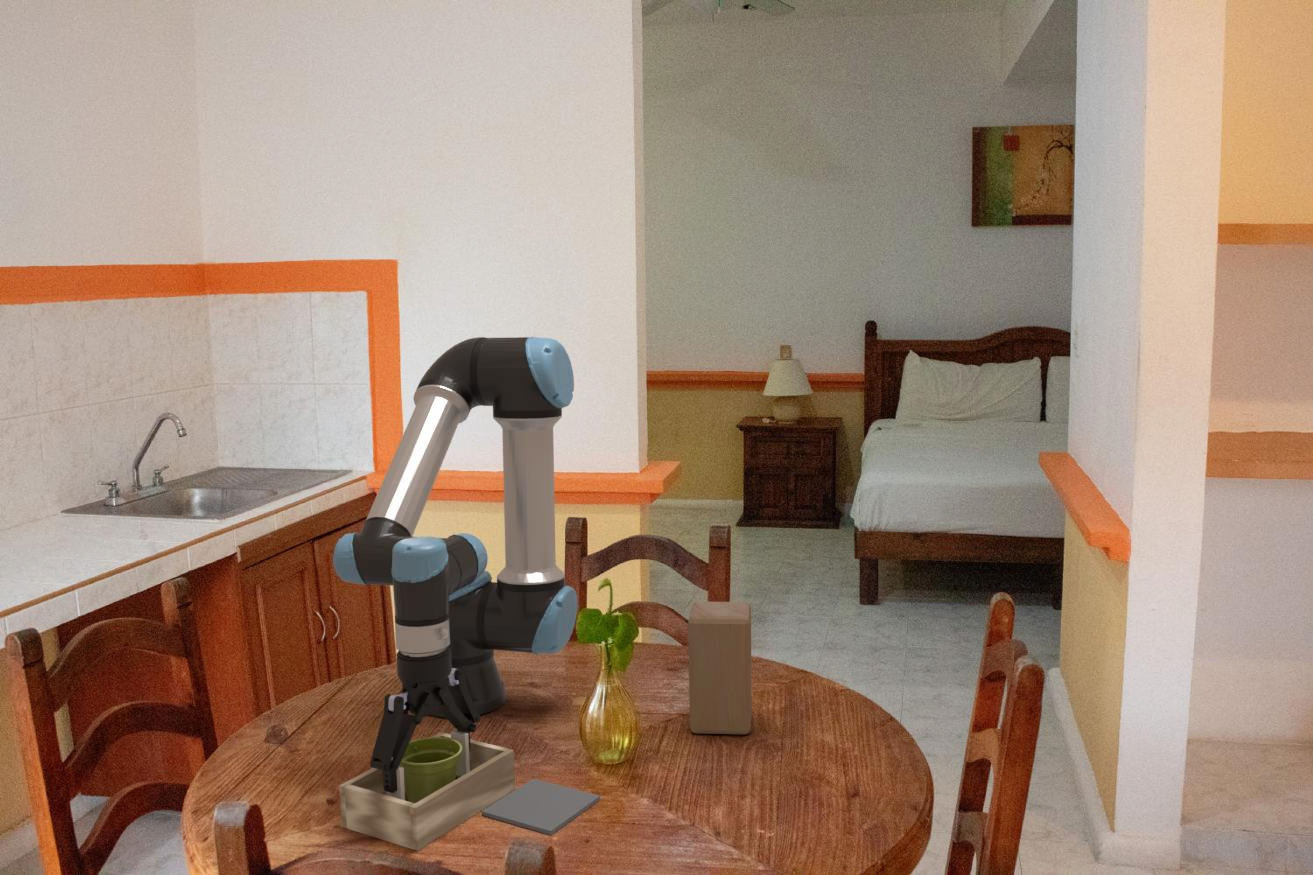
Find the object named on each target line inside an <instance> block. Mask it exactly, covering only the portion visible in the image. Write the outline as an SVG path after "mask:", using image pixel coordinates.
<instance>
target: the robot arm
mask: <svg viewBox="0 0 1313 875" xmlns="http://www.w3.org/2000/svg"><path fill="white" fill-rule="evenodd" d="M574 378H575V377H574V371H573V366H572V362H571V358H570V357H569V354H568V352H567V351H566V348H565V347H564V346H563V345H562V344H561V342H560V341H558V340H557V339H554V338H547V337H538V336H530V337H529V336H525V337H522V336H521V337H519V336H518V337H484V336H478V337H472V338H468V339H465V340H463V341H461V342H459V343H457V344H455V345H453V346H452V347H450V348H449V349H448V350H446V351H444V352H443V354H441V355H439V357H438V358H437V359H436V360H435V361H434V362H433V363H432V364H431V365H430V367H429V368H428V369H427V370H426V372H425V373H424V375H423V376H422V378H421V379H420V381H419V383H418V384H417V387H416V390H415V391H414V394H413V403H414V405H415V407H414V410H413V412H412V414H411V416H410V419H409V421H408V423H407V426H406V428H405V430H404V432H403V434H402V437H401V439H400V442H399V443H398V447H397V448H396V450H395V452H394V455H393V458H392V460H391V461H390V464H389V467H388V468H387V471H386V473H385V475H384V478H383V481H382V483H381V484H380V487H379V490H378V492H377V494H376V496H375V499H374V500H373V503H372V505H371V507H370V510H369V512H368V514H367V517H366V519H365V521H364V523H363V525H362V528H361V529H360V531H359V532H353V533H350V532H349V533H345V534H343V536H342V537H341V538H339V539H338V541H337V542H336V544H335V547H334V551H333V557H332V559H333V560H332V561H333V563H332V564H333V567H334V568H333V569H334V571H335V573H336V575H337V576H338V577H339V579H340V580H342V581H343V582H346V583H349V584H350V583H352V584H357V585H362V586H369V585H370V586H371V585H373V586H392V588H393V589H392V590H393V602H394V603H393V604H394V629H395V630H394V631H395V632H394V633H395V634H394V635H395V638H394V639H395V648H396V650H398V652H397V653H396V655H395V656H396V671H397V672H396V674H397V677H398V679H399V680H400V682H401V686H402V687H401V690H400V693H398V694H390V693H387V694H386V695H385V697H384V703H383V705H384V707H383V714H382V718H381V722H380V725H379V729H378V733H377V736H376V740H375V743H374V747H373V751H372V755H371V758H370V762H369V766H370V768H371V769H372V768H376V769H379V770H383V787H384V790H385V791H386V795H388V796H391V797H395V798H398V799H401V800H405V801H406V795H405V787H404V768H403V767H400V766H399V765H400V763H401V760H402V758H403V756H404V753H405V751H406V749H407V746H408V744H409V742H410V741H412V740H411V739H412V737H413V735H414V733H415V730H416V728H417V726H418V725H419V724H421V723H422V721H423V718H426V717H427V716H429V715H430V716H433V717H438V718H445V719H447V721H448V722H450V723H451V725H452V726H453V728H455V729H456V730H455V729H453V730H452V731H450V734H451V739H453V740H456V741H458V742H459V743H460V744H461V745H462V752H461V753H460V755H459V760H458V762H457V767H456V775H459V776H463V775H465V774H466V773H468V772H470V763H469V751H470V747H471V745H470V739H471V733H475V732H476V730H477V725H476V724H479V722H480V720H481V716H480V715H484V713H485V714H487V713H490V712H492V711H495V710H497V709H499V708H500V707H502V706H503V705H504V704H505V702H506V686H505V684H504V682H503V681H502V677H501V675H500V672H499V669H498V666H497V661H496V660H495V654H494V653H495V652H494V651H504V652H514V653H515V652H517V653H526V654H527V653H528V654H533V655H539V654H540V655H542V654H546V655H548V654H551V655H553V654H556V653H559V652H561V651H562V650H563V649H564V648H565V646H566V645H567V644H568V642H569V640H570V638H571V636H572V633H573V630H574V628H575V624H576V618H577V613H578V596H577V591H576V590H575V588H574V587H571V586H570V585H566V579H565V578H566V576H565V572H564V571H563V570H562V569H561V568H559V567H558V565H557V564H556V556H557V555H556V516H555V515H556V514H555V513H556V510H555V507H556V505H555V463H554V462H555V461H554V459H555V455H554V453H555V452H554V449H555V448H554V447H555V446H554V427H555V425H556V424H557V423H559V421H560V420H561V419H562V417H563V416H562V415H563V414H562V413H563V408H566V407H568V406H570V404H571V402H572V400H573V399H574V398H573V397H574V394H573V392H575V391H574V390H575V379H574ZM479 406H484V407H492V418H493V420H494V421H496V423H497V424H498V425H499V426H500V427H501V430H502V467H503V468H502V469H503V470H502V471H503V472H502V473H503V475H502V476H503V508H504V510H503V511H504V512H503V513H504V514H503V515H504V558H505V566H504V568H502V570H500V572H499V573H498V574H497V575H496V582H494V581H492V580H493V577H492V574H491V573H490V572H489V571H487V570H486V569H487V566H488V559H489V556H488V553H487V549H486V546H485V545H484V543H483V542H482V541H481V540H480V539H479V538H478V537H476V536H475V535H473V534H471V533H465V532H463V533H461V532H460V533H457V534H456V533H454V534H452V535H449V536H448V537H434V536H414V533H415V531H416V528H417V525H418V523H419V521H420V519H421V517H422V513H423V511H424V509H425V506H426V503H427V502H428V500H429V496H430V495H431V491H432V489H433V487H434V484H435V482H436V480H437V478H438V475H439V472H440V470H441V467H442V465H443V462H444V460H445V457H446V455H447V452H448V451H449V449H450V448H449V447H450V445H451V443H452V440H453V438H454V435H455V433H456V430H457V428H458V425H459V424H462V423H463V422H465V421H466V420H467V419H468V417H469V414H470V413H471V410H472V409H474V408H476V407H479ZM408 713H409V714H408ZM410 713H411V714H410ZM391 758H393V760H391Z"/></svg>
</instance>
